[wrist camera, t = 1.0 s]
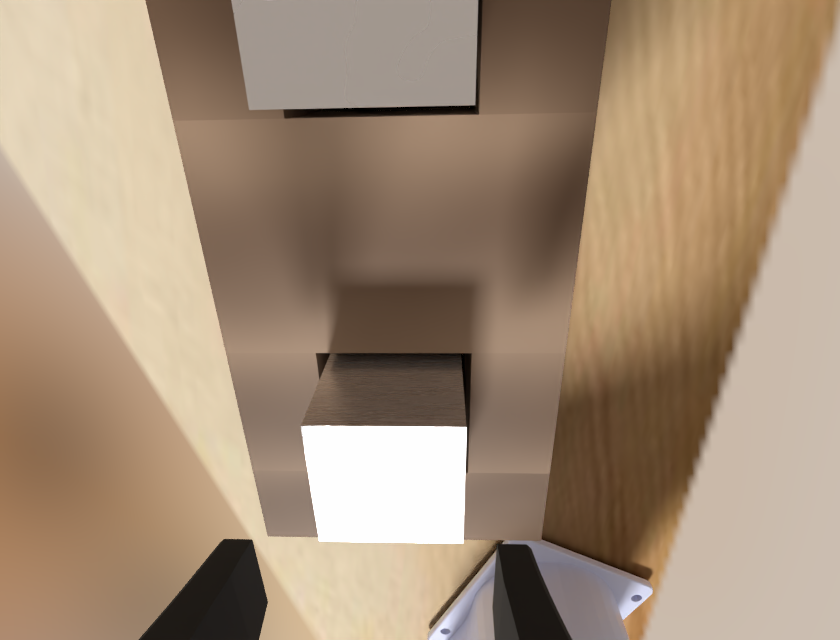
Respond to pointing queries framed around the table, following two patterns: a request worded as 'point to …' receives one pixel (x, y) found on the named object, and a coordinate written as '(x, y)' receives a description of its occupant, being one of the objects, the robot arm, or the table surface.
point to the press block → (396, 240)
